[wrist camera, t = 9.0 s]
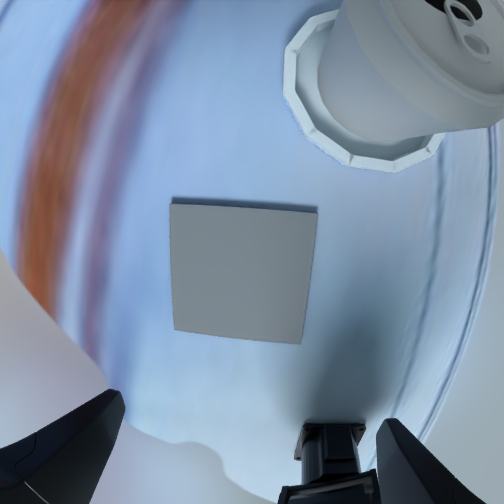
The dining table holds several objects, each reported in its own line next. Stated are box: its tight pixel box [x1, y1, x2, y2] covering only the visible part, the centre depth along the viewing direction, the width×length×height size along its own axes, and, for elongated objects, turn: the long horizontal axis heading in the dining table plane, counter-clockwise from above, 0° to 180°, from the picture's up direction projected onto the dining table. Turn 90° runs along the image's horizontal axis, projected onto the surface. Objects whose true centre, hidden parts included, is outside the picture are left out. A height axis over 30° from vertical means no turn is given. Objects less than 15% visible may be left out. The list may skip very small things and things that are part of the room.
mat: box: [170, 203, 318, 344], centre depth 21 cm, size 10×10×1 cm
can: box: [317, 0, 504, 142], centre depth 10 cm, size 8×8×12 cm
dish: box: [283, 9, 447, 173], centre depth 16 cm, size 11×11×2 cm
